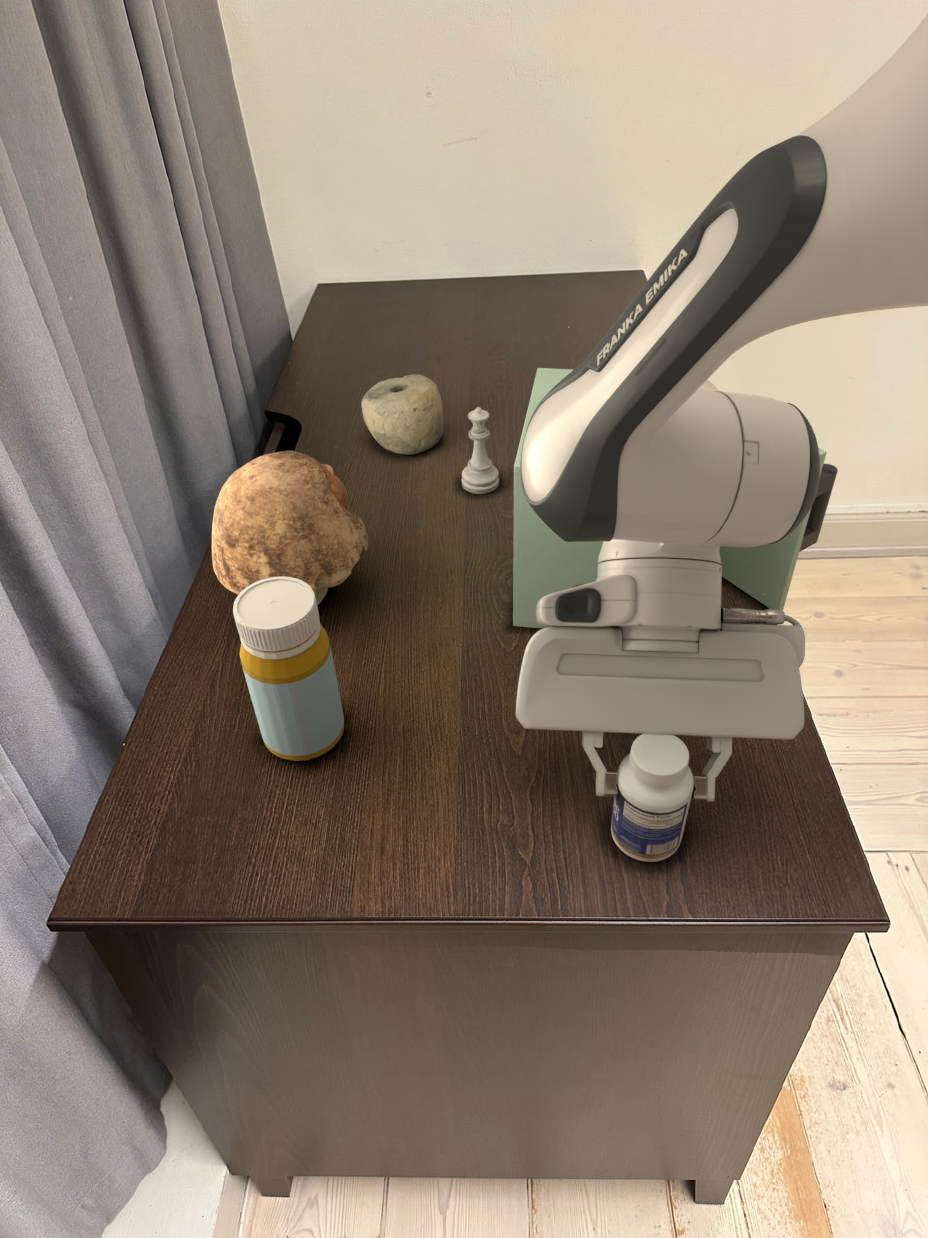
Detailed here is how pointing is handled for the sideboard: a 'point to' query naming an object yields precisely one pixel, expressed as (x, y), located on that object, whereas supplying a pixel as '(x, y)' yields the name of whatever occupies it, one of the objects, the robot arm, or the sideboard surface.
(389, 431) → the stone
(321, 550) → the tan rounded lump
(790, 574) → the fridge door
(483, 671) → the sideboard surface
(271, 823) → the sideboard surface
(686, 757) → the pill bottle
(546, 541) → the mini fridge
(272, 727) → the bottle
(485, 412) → the chess piece
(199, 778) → the sideboard surface
